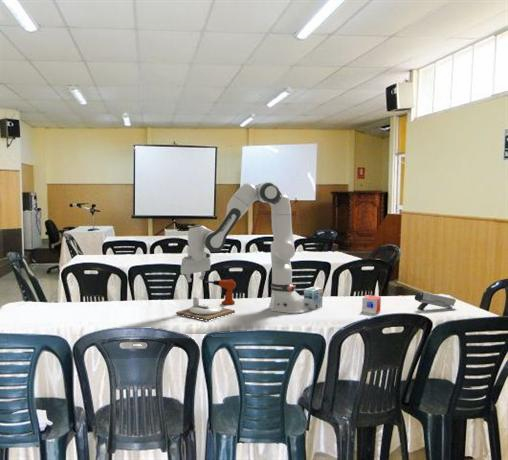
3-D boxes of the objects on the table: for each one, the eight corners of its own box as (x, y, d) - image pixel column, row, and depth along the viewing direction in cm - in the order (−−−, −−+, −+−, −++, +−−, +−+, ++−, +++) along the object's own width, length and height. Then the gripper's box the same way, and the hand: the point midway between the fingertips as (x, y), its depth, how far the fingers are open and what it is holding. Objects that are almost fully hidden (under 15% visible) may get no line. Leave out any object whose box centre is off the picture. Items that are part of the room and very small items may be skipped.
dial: (228, 309, 257) (228, 298, 256) (207, 316, 243) (207, 304, 242) (204, 305, 267) (204, 294, 266) (182, 311, 253) (182, 299, 252)
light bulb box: (313, 309, 267) (313, 290, 266) (302, 308, 271) (303, 289, 270) (322, 306, 275) (323, 287, 274) (312, 304, 279) (312, 286, 278)
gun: (411, 307, 270) (415, 290, 270) (449, 315, 275) (453, 298, 275) (413, 308, 267) (417, 291, 267) (452, 316, 273) (456, 299, 272)
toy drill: (201, 301, 278) (205, 275, 277) (233, 304, 281) (237, 279, 280) (202, 303, 273) (205, 277, 272) (234, 306, 276) (238, 280, 276)
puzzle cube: (380, 310, 267) (380, 296, 266) (376, 313, 260) (376, 299, 259) (366, 308, 271) (366, 294, 270) (361, 311, 264) (362, 297, 263)
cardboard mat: (234, 312, 257) (234, 309, 257) (207, 321, 240) (207, 318, 239) (203, 306, 270) (203, 304, 270) (176, 314, 252) (176, 311, 252)
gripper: (186, 257, 246) (186, 284, 247) (212, 254, 263) (212, 278, 264) (177, 256, 250) (177, 282, 251) (204, 253, 267) (203, 277, 268)
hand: (195, 280), depth 258 cm, fingers open, 8 cm apart
